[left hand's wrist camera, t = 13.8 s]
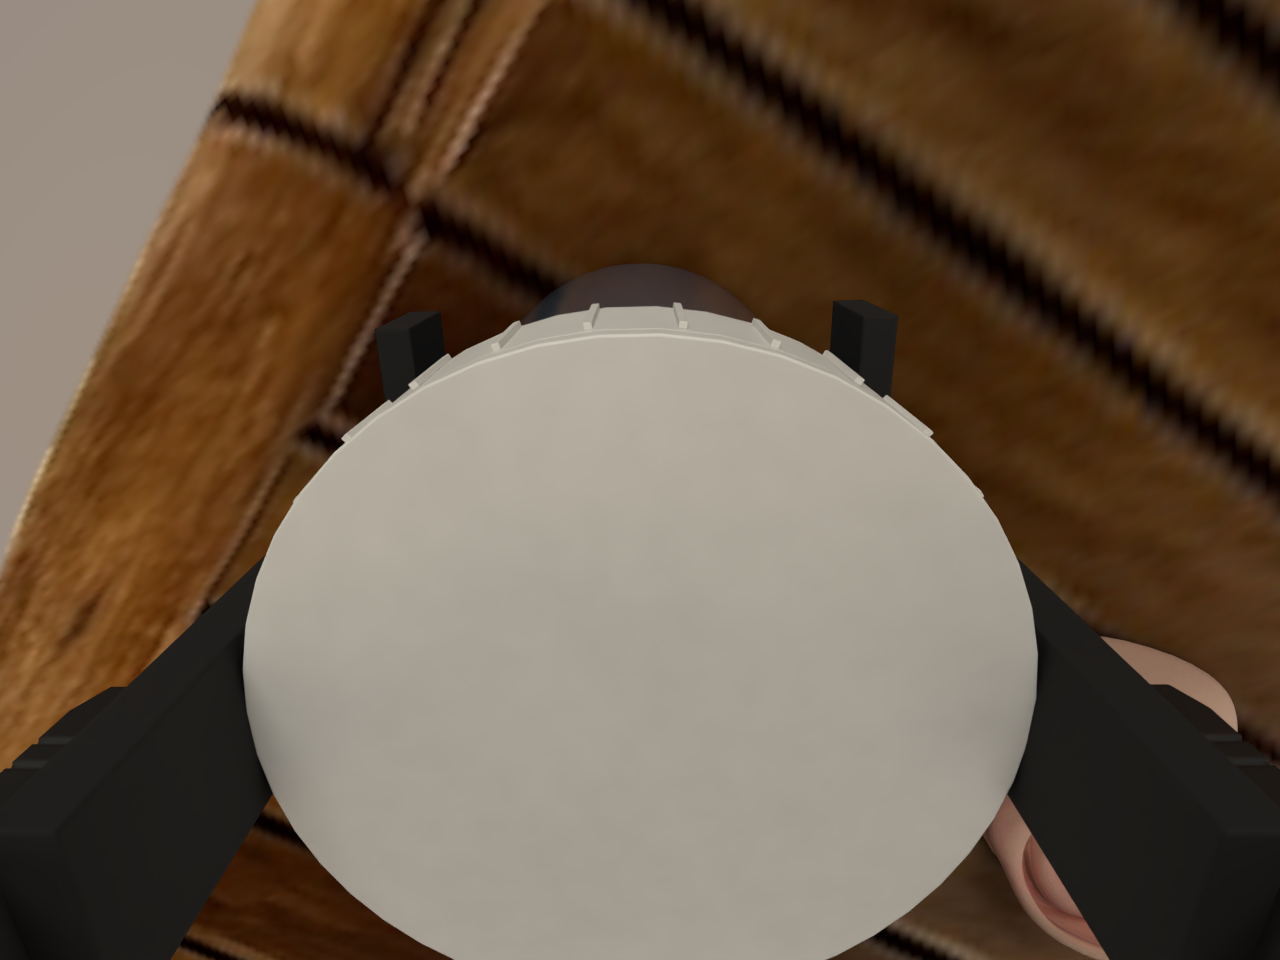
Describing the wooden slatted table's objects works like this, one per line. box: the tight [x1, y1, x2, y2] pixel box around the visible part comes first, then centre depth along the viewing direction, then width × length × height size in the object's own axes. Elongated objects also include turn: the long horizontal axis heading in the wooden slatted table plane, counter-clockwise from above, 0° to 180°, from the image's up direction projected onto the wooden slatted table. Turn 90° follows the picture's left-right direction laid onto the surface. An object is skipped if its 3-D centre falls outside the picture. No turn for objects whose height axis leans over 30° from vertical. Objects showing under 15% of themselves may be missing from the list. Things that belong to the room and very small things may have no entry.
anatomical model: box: [983, 636, 1238, 960], centre depth 28 cm, size 13×4×12 cm
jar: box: [520, 263, 759, 326], centre depth 18 cm, size 10×10×16 cm
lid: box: [243, 303, 1038, 960], centre depth 11 cm, size 11×11×2 cm
